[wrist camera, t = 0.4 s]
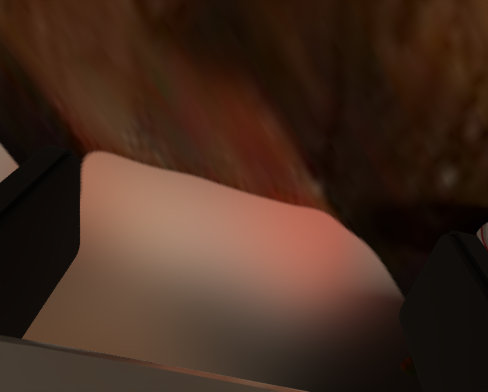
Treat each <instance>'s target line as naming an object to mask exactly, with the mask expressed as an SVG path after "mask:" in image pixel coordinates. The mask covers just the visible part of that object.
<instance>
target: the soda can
mask: <svg viewBox="0 0 488 392" xmlns="http://www.w3.org/2000/svg"><path fill="white" fill-rule="evenodd" d="M476 236H477V237H478V238H479V239H480V240H481V242H482V243H483V244H484V246H485V247H486V249H487V250H488V222H487V223H486V224H484V225H483V226H482V227H481V228H480V229H479V230H478V232H477V233H476Z"/></svg>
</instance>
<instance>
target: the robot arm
mask: <svg viewBox="0 0 488 392" xmlns="http://www.w3.org/2000/svg"><path fill="white" fill-rule="evenodd" d="M79 246H80V161H79V158H78V157H74V156H73V153H72V151H71V150H68V149H64V148H59V147H54V146H49V145H46V146H44V147H43V148H41V149H40V150H39V151H38V152H37V153H35V154H34V155H33V156H32V157H31V158H29V159H28V160H27V161H26V162H25V163H23V164H22V165H21V166H20V167H19V168H17V169H16V170H15V171H14V172H13V173H11V174H10V175H9V176H8V177H7V178H6V179H4V180H3V181H2V182H1V183H0V392H307V391H302V390H297V389H291V388H286V387H281V386H275V385H270V384H265V383H260V382H255V381H249V380H244V379H239V378H234V377H228V376H223V375H218V374H213V373H207V372H202V371H197V370H191V369H185V368H180V367H175V366H169V365H164V364H158V363H153V362H148V361H142V360H137V359H132V358H126V357H121V356H116V355H110V354H105V353H99V352H94V351H88V350H83V349H78V348H72V347H66V346H60V345H55V344H49V343H42V342H36V341H31V340H25V339H22V337H23V336H24V334H25V333H26V331H27V329H28V328H29V327H30V325H31V323H32V322H33V321H34V319H35V318H36V316H37V315H38V313H39V311H40V310H41V309H42V307H43V305H44V304H45V302H46V301H47V299H48V298H49V296H50V295H51V293H52V292H53V290H54V289H55V287H56V285H57V284H58V282H59V281H60V280H61V278H62V277H63V275H64V274H65V272H66V271H67V269H68V268H69V266H70V265H71V263H72V262H73V260H74V259H75V257H76V255H77V253H78V250H79ZM399 319H400V323H401V326H402V329H403V332H404V335H405V338H406V341H407V344H408V347H409V350H410V353H411V356H412V359H413V362H414V365H415V368H416V372H417V375H418V378H419V380H420V384H421V386H422V390H423V392H488V250H487V249H486V247H485V246H484V244H483V243H482V242H481V240H480V239H479V238H478V237H477V236H476V235H473V234H468V233H463V232H459V231H454V230H453V231H450V232H449V233H448V234H447V235H446V234H444V235H442V236H441V237H440V238H439V240H438V241H437V243H436V245H435V247H434V249H433V250H432V252H431V254H430V256H429V258H428V259H427V261H426V263H425V265H424V267H423V269H422V270H421V272H420V274H419V276H418V278H417V279H416V281H415V283H414V285H413V287H412V288H411V290H410V292H409V294H408V296H407V297H406V299H405V301H404V303H403V305H402V307H401V310H400V315H399Z"/></svg>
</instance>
